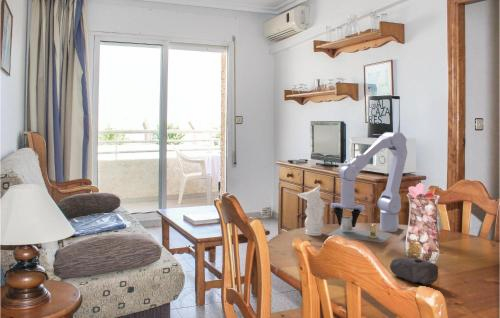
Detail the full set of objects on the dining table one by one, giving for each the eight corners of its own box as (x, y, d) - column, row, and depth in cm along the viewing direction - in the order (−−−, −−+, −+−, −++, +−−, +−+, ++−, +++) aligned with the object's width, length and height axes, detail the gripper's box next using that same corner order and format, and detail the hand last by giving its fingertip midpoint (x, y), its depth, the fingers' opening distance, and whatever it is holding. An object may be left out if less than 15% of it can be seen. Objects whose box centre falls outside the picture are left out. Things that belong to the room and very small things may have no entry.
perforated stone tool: (385, 275, 136) (385, 253, 136) (395, 272, 139) (395, 251, 139) (429, 290, 124) (430, 266, 124) (439, 286, 127) (440, 262, 127)
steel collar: (343, 227, 190) (343, 215, 189) (355, 228, 187) (355, 217, 187) (339, 229, 185) (339, 218, 185) (351, 231, 183) (351, 219, 182)
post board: (340, 230, 195) (340, 216, 195) (392, 237, 183) (393, 222, 183) (326, 238, 182) (327, 223, 181) (382, 246, 170) (383, 229, 169)
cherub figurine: (318, 241, 177) (318, 187, 176) (290, 237, 184) (291, 185, 182) (329, 235, 188) (330, 184, 186) (302, 231, 194) (303, 182, 192)
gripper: (327, 194, 186) (327, 225, 187) (361, 197, 178) (361, 229, 179) (333, 192, 192) (333, 222, 193) (366, 194, 184) (366, 226, 185)
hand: (347, 225), depth 186 cm, fingers closed on steel collar, 5 cm apart
